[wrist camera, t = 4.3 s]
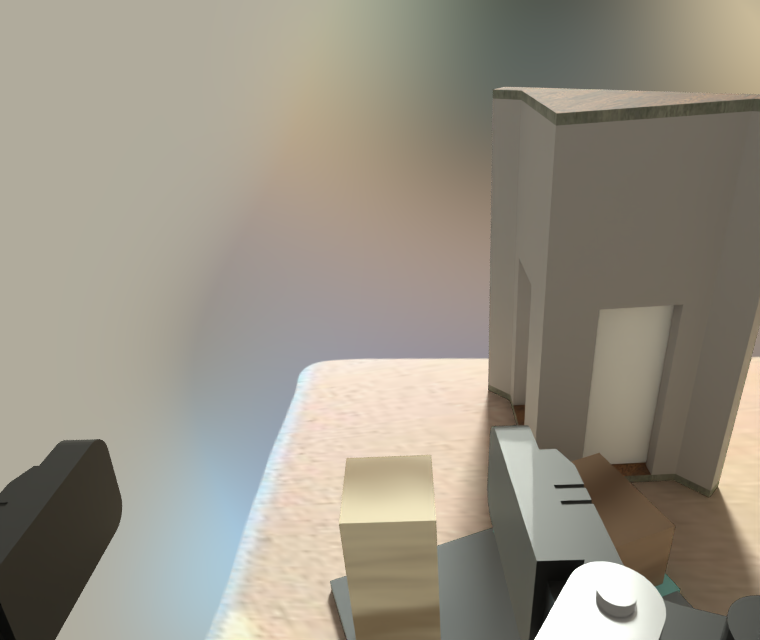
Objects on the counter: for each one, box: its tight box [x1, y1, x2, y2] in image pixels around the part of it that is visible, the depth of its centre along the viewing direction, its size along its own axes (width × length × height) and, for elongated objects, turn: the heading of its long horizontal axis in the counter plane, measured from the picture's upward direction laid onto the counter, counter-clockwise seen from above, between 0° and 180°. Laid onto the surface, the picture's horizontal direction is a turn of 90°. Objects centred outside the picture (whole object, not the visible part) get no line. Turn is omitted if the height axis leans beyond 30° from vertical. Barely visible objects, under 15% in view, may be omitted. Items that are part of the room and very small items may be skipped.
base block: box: [571, 453, 675, 587], centre depth 37 cm, size 7×7×5 cm
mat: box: [330, 528, 693, 640], centre depth 35 cm, size 13×20×1 cm, turn 108°
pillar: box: [339, 455, 441, 640], centre depth 31 cm, size 4×4×12 cm
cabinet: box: [488, 87, 760, 497], centre depth 42 cm, size 21×10×28 cm, turn 42°
